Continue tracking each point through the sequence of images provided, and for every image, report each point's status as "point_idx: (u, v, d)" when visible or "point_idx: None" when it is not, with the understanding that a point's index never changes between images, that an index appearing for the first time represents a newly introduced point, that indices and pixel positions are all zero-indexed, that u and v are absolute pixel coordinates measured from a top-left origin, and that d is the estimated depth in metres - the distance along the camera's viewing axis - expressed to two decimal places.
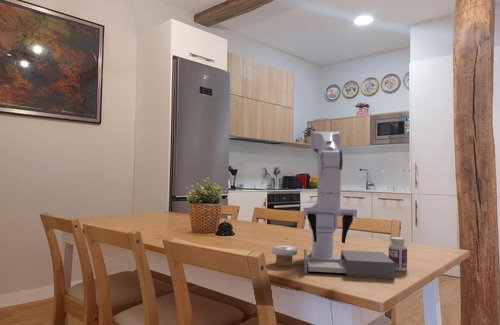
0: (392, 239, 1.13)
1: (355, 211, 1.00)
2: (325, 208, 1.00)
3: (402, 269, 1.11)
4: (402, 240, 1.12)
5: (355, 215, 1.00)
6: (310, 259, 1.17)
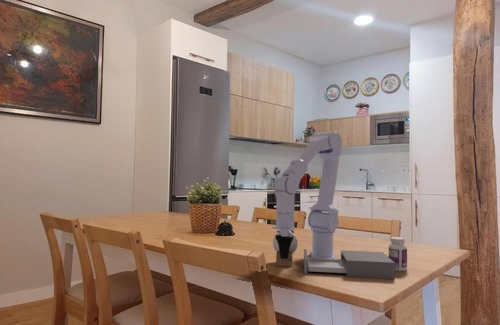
0: (392, 239, 1.13)
1: (281, 231, 1.11)
2: None
3: (402, 269, 1.11)
4: (402, 240, 1.12)
5: (281, 234, 1.11)
6: (310, 259, 1.17)
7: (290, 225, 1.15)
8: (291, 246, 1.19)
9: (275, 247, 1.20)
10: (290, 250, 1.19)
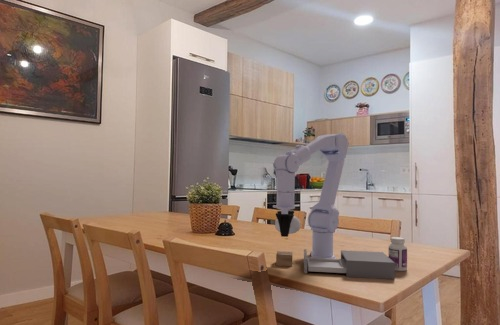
0: (392, 239, 1.13)
1: (281, 208, 1.11)
2: None
3: (402, 269, 1.11)
4: (402, 240, 1.12)
5: (281, 212, 1.11)
6: (310, 259, 1.17)
7: (290, 204, 1.15)
8: (293, 228, 1.17)
9: (277, 228, 1.18)
10: (292, 231, 1.18)
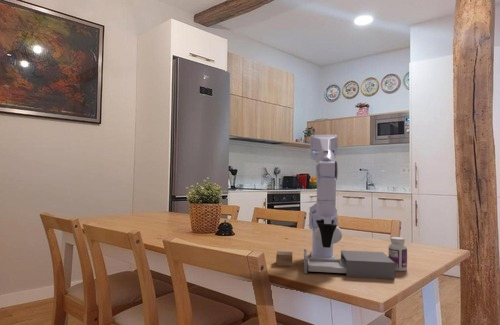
0: (392, 239, 1.13)
1: (324, 218, 1.05)
2: None
3: (402, 269, 1.11)
4: (402, 240, 1.12)
5: (324, 222, 1.05)
6: (310, 259, 1.17)
7: (332, 213, 1.10)
8: (334, 238, 1.12)
9: (317, 237, 1.12)
10: (332, 241, 1.12)
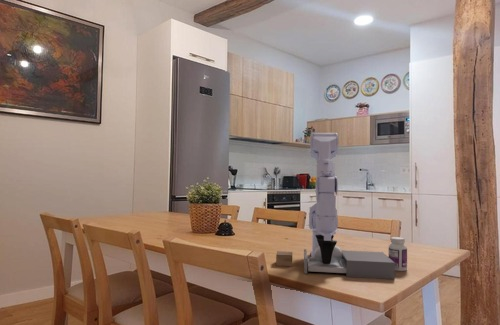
0: (392, 239, 1.13)
1: (324, 235, 1.05)
2: None
3: (402, 269, 1.11)
4: (402, 240, 1.12)
5: (324, 238, 1.05)
6: (310, 259, 1.17)
7: (331, 229, 1.09)
8: (334, 258, 1.11)
9: (316, 257, 1.12)
10: (332, 261, 1.12)
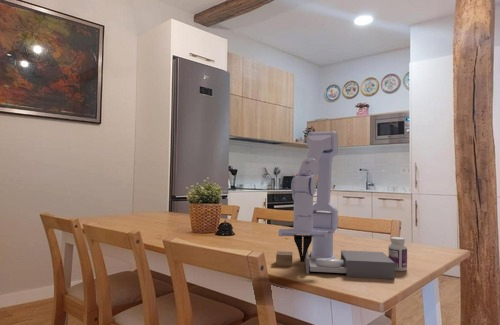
0: (392, 239, 1.13)
1: (326, 233, 1.08)
2: (298, 230, 1.07)
3: (402, 269, 1.11)
4: (402, 240, 1.12)
5: (326, 236, 1.08)
6: (311, 259, 1.17)
7: None
8: None
9: None
10: None
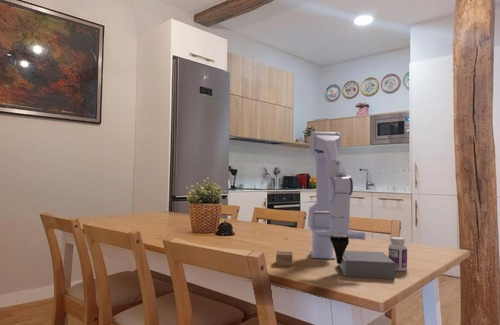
0: (392, 239, 1.13)
1: (364, 234, 1.07)
2: (335, 231, 1.06)
3: (402, 269, 1.11)
4: (402, 240, 1.12)
5: (364, 238, 1.07)
6: None
7: None
8: None
9: None
10: None
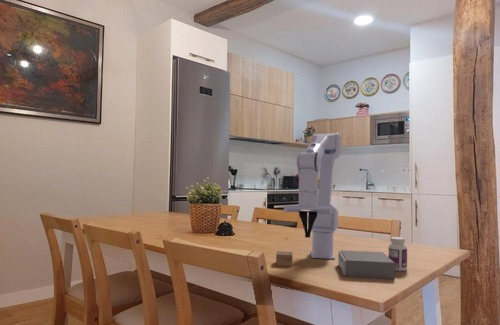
0: (392, 239, 1.13)
1: (331, 208, 1.09)
2: (303, 206, 1.08)
3: (402, 269, 1.11)
4: (402, 240, 1.12)
5: (331, 212, 1.09)
6: None
7: None
8: None
9: None
10: None
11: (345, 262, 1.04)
